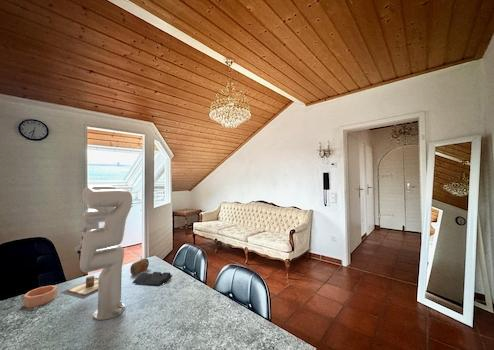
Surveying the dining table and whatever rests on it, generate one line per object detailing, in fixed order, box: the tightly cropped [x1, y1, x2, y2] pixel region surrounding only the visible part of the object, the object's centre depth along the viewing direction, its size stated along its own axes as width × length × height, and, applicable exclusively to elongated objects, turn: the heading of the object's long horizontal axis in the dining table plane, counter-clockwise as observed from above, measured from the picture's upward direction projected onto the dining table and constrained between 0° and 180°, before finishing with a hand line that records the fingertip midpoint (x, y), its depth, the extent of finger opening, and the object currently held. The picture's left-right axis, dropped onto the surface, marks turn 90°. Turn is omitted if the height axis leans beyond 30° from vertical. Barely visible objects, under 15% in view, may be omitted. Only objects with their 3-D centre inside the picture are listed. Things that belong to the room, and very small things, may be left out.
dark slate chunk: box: [131, 271, 173, 287], centre depth 135 cm, size 15×22×5 cm
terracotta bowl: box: [22, 285, 58, 308], centre depth 112 cm, size 12×12×5 cm
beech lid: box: [67, 275, 98, 296], centre depth 125 cm, size 15×15×6 cm
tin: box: [129, 258, 150, 276], centre depth 147 cm, size 15×3×8 cm, turn 164°
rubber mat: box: [59, 277, 99, 300], centre depth 125 cm, size 20×20×1 cm
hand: (90, 258), depth 126 cm, fingers open, 9 cm apart
